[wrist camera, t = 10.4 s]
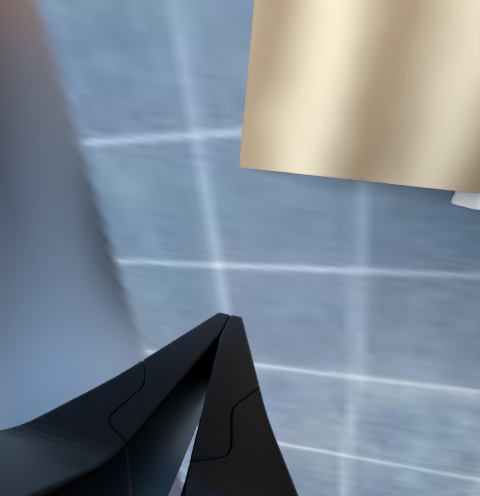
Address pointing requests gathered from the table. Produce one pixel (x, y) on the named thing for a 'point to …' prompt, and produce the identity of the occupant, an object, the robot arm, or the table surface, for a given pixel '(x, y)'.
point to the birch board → (366, 91)
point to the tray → (466, 199)
